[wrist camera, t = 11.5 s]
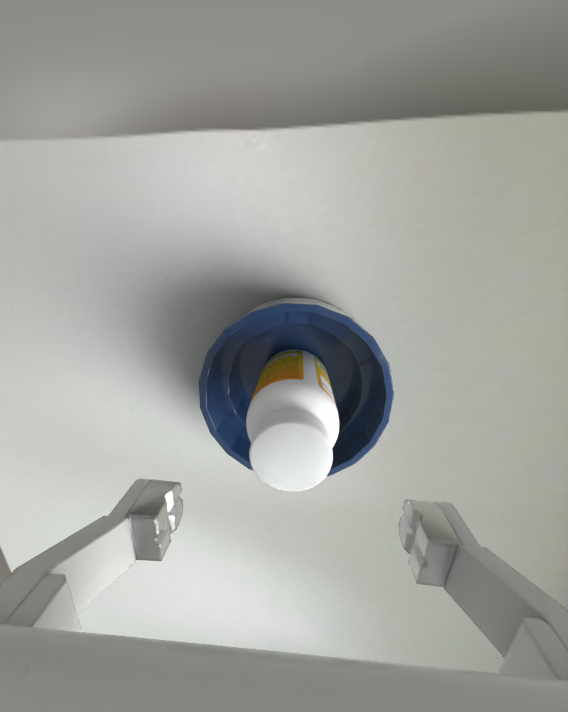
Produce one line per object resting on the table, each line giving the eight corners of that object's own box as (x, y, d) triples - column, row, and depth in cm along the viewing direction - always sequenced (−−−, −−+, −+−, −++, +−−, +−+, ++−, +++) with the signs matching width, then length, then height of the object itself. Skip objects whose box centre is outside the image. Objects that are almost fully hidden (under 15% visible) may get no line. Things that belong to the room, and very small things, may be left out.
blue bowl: (216, 292, 21) (194, 298, 16) (387, 301, 20) (410, 309, 16) (220, 437, 25) (203, 472, 20) (363, 448, 24) (377, 486, 20)
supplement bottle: (251, 394, 23) (217, 480, 13) (277, 337, 21) (258, 389, 12) (310, 419, 23) (317, 519, 14) (339, 364, 21) (370, 436, 12)
